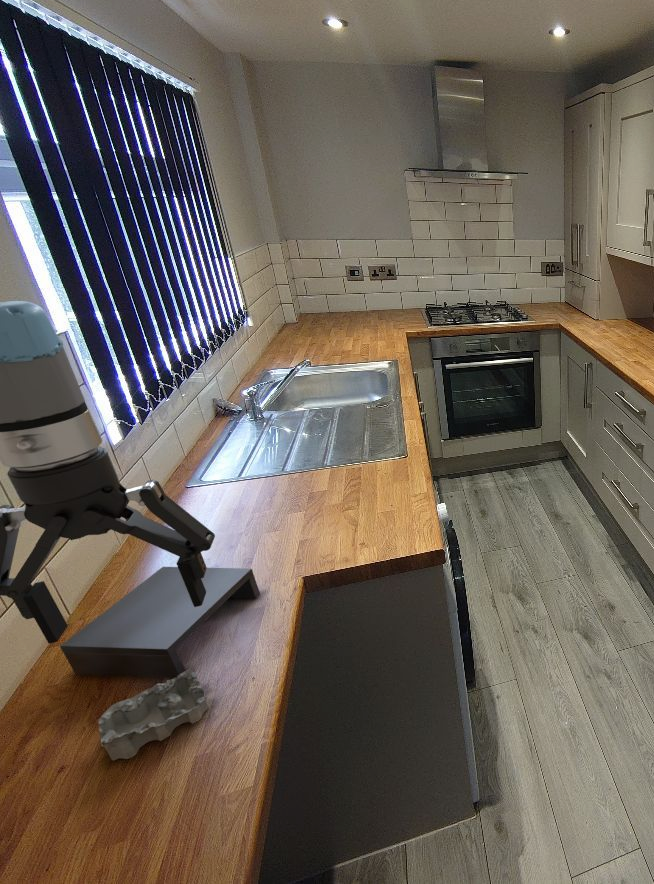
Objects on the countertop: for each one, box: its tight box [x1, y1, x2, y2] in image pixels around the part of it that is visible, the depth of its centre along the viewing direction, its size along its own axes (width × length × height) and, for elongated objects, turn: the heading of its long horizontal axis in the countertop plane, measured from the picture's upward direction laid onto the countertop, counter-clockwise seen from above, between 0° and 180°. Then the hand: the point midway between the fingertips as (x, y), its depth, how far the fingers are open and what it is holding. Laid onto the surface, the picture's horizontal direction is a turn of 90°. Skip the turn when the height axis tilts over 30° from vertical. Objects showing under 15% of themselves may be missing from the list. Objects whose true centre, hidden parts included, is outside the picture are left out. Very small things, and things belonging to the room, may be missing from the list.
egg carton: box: [98, 666, 210, 761], centre depth 68 cm, size 11×8×4 cm
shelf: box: [59, 566, 261, 679], centre depth 83 cm, size 16×18×6 cm
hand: (132, 616), depth 63 cm, fingers open, 13 cm apart
